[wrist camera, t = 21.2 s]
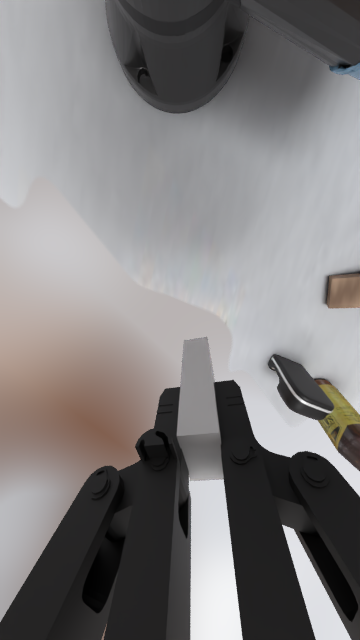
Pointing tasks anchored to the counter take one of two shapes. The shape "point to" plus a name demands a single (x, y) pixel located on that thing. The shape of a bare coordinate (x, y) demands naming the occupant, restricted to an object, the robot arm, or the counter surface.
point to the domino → (344, 291)
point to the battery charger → (300, 389)
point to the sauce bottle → (342, 424)
